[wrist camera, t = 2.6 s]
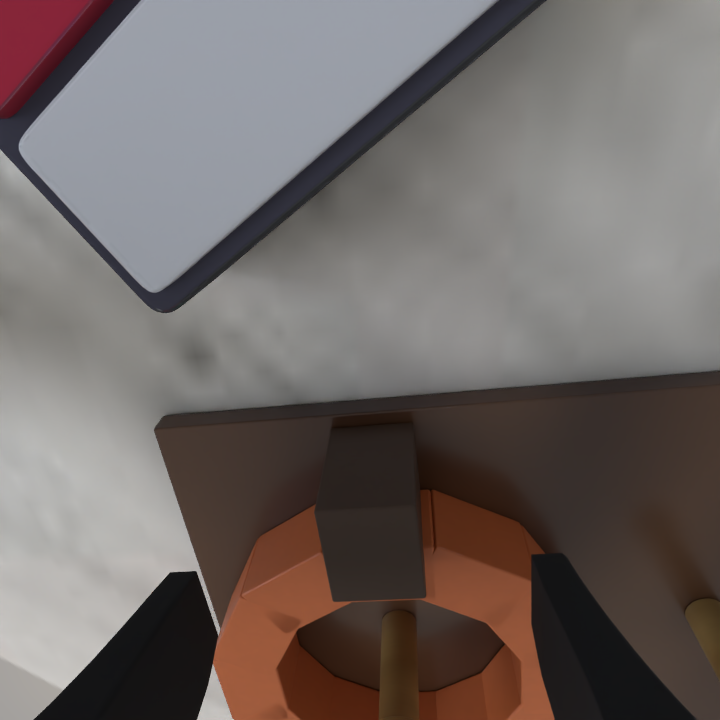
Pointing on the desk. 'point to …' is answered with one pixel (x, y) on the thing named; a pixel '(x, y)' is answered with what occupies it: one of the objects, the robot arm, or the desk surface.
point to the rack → (496, 494)
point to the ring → (379, 589)
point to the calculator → (214, 113)
